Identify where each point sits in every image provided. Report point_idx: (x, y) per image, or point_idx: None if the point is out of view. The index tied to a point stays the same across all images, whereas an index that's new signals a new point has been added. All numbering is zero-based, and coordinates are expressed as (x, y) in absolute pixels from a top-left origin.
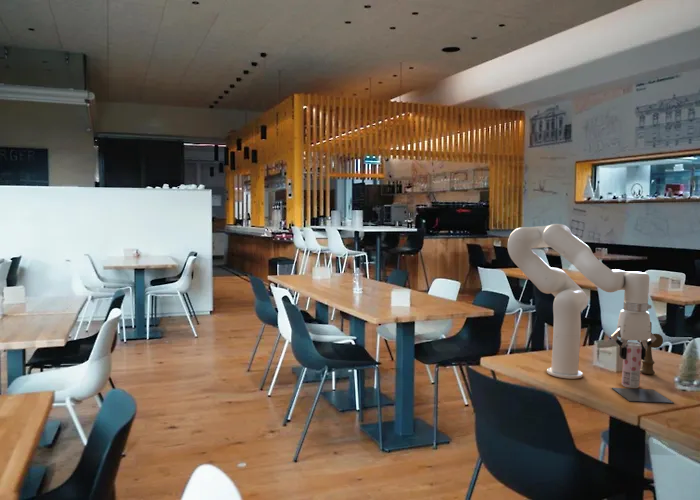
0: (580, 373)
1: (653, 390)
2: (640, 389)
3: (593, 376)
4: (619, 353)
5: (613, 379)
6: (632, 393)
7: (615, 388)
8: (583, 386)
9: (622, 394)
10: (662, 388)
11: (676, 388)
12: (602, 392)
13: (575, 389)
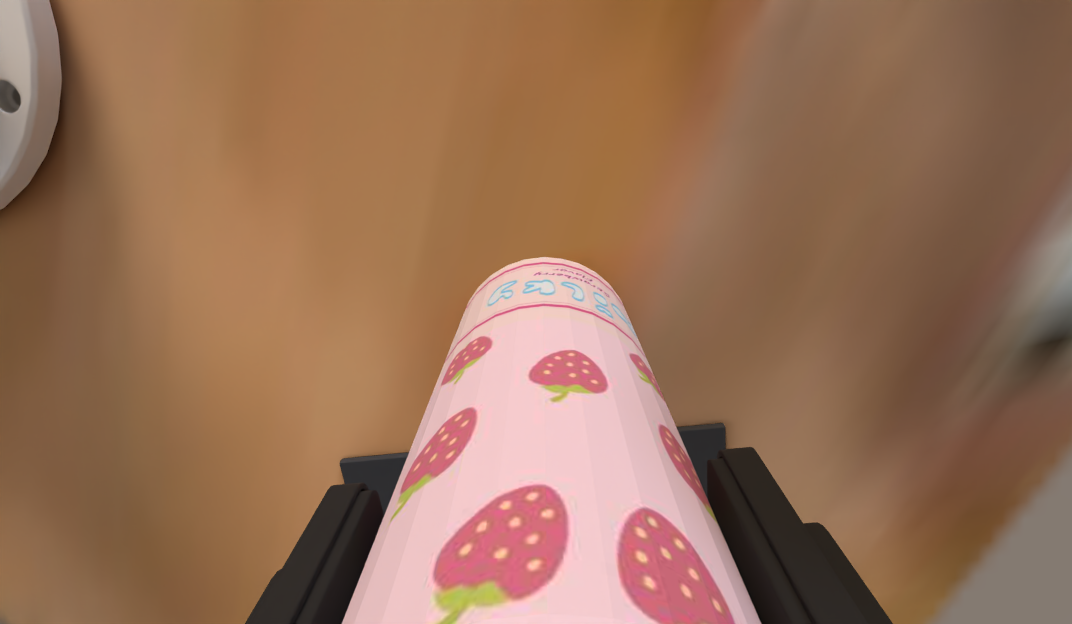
0: (6, 74)
1: (713, 457)
2: None
3: (201, 9)
4: (268, 591)
5: (429, 94)
6: None
7: (368, 478)
8: (92, 449)
9: None
10: (858, 332)
11: (1018, 296)
12: (247, 573)
13: (30, 547)
